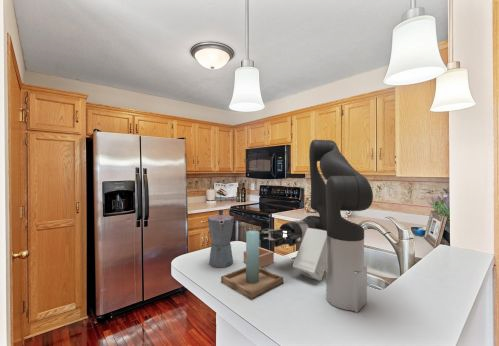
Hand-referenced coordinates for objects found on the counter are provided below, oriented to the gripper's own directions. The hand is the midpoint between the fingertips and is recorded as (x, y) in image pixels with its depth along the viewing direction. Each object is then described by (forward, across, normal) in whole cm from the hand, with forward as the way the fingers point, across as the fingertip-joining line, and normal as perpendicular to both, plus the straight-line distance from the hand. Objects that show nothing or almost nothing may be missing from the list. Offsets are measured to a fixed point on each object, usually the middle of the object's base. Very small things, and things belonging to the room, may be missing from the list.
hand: (264, 240), depth 77 cm
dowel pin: (+5, 0, +11) cm, 13 cm away
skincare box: (-8, +10, +10) cm, 16 cm away
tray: (+6, 0, +12) cm, 13 cm away
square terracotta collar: (-8, -10, +12) cm, 17 cm away
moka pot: (+3, -20, +12) cm, 23 cm away
